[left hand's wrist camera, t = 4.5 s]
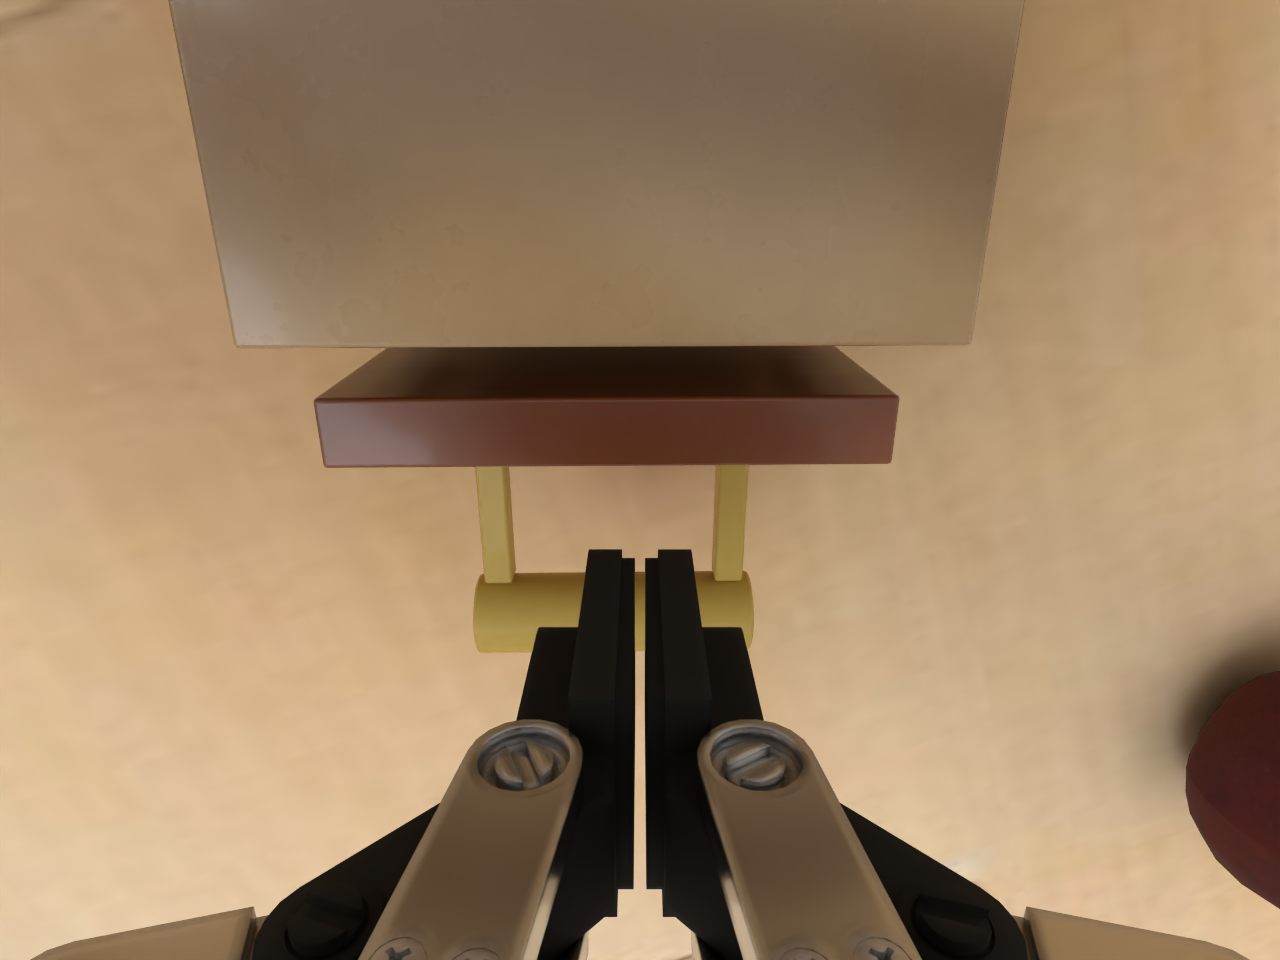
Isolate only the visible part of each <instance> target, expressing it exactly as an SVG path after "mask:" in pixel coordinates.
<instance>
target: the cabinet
mask: <svg viewBox="0 0 1280 960" xmlns="http://www.w3.org/2000/svg"><path fill="white" fill-rule="evenodd" d="M169 5H170V10H171V15H172V21H173V26H174V31H175V36H176V41H177V47H178V52H179V57H180V62H181V67H182V73H183V78H184V83H185V88H186V93H187V99H188V104H189V109H190V114H191V120H192V125H193V130H194V135H195V140H196V146H197V151H198V156H199V161H200V166H201V172H202V177H203V182H204V187H205V193H206V198H207V203H208V208H209V213H210V219H211V224H212V229H213V234H214V239H215V245H216V250H217V255H218V260H219V265H220V271H221V276H222V281H223V286H224V292H225V297H226V302H227V307H228V312H229V318H230V323H231V328H232V333H233V338H234V344H235V346H236V347H238V348H425V347H664V346H902V345H968V344H970V343H971V339H972V333H973V326H974V320H975V314H976V307H977V301H978V294H979V288H980V282H981V275H982V269H983V262H984V256H985V250H986V243H987V237H988V230H989V224H990V218H991V211H992V205H993V199H994V192H995V186H996V179H997V173H998V167H999V160H1000V154H1001V147H1002V141H1003V135H1004V128H1005V122H1006V115H1007V109H1008V103H1009V96H1010V90H1011V83H1012V77H1013V71H1014V64H1015V58H1016V51H1017V45H1018V39H1019V32H1020V26H1021V19H1022V13H1023V7H1024V0H169Z"/></svg>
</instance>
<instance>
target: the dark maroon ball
mask: <svg viewBox="0 0 1280 960" xmlns="http://www.w3.org/2000/svg"><path fill="white" fill-rule="evenodd" d="M1186 796H1187V801H1188V806H1189V811H1190V814H1191V816H1192V818H1193V820H1194V822H1195V824H1196V825H1197V827H1198V829H1199V831H1200V833H1201V835H1202V837H1203V838H1204V840H1205V842H1206V843H1207V845H1208V847H1209V848H1210V850H1211V852H1212V853H1213V855H1214V857H1215V859H1216V860H1217V861H1218V862H1219V863H1220V864H1221V865H1222V866H1223V867H1224V868H1225V869H1227V870H1228V871H1229V872H1230V873H1231V874H1232V875H1233V876H1234V877H1235V878H1236V879H1237V880H1238V881H1239V882H1240V883H1241V884H1242V885H1244V886H1245V887H1247V888H1249V889H1250V890H1252V891H1253V892H1255V893H1256V894H1258V895H1259V896H1261V897H1262V898H1264V899H1265V900H1267V901H1268V902H1270V903H1271V904H1273V905H1275V906H1276V907H1278V908H1279V909H1280V671H1277V672H1273V673H1269V674H1265V675H1261V676H1258V677H1256V678H1255V679H1253V680H1252V681H1250V682H1249V683H1247V684H1245V685H1244V686H1242V687H1241V688H1239V689H1238V690H1236V691H1235V692H1233V693H1231V694H1230V695H1228V696H1227V697H1226V699H1225V700H1224V701H1223V703H1222V704H1221V705H1220V706H1219V708H1218V709H1217V710H1216V711H1215V713H1214V714H1213V715H1212V716H1211V718H1210V719H1209V720H1208V722H1207V723H1206V724H1205V725H1204V727H1203V728H1202V729H1201V731H1200V734H1199V736H1198V738H1197V740H1196V742H1195V744H1194V746H1193V748H1192V750H1191V752H1190V754H1189V758H1188V762H1187V766H1186Z"/></svg>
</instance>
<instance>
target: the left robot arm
mask: <svg viewBox="0 0 1280 960" xmlns="http://www.w3.org/2000/svg"><path fill="white" fill-rule="evenodd" d="M634 779H635V558H622V550H589V552H588V559H587V566H586V573H585V580H584V587H583V594H582V601H581V608H580V615H579V622H578V627H539V628H538V630H537V633H536V638H535V642H534V646H533V651H532V655H531V659H530V664H529V668H528V672H527V677H526V681H525V685H524V690H523V694H522V698H521V703H520V707H519V711H518V716H517V720H516V721H513V722H508V723H504V724H502V725H500V726H497V727H495V728H493V729H490V730H489V731H487V732H486V733H485V734H483V735H482V736H481V737H479V738H478V739H476V741H475V742H474V743H473V745H472V746H471V747H470V749H469V750H468V751H467V753H466V755H465V757H464V759H463V761H462V763H461V764H460V766H459V768H458V770H457V772H456V774H455V776H454V778H453V780H452V782H451V784H450V785H449V787H448V789H447V791H446V793H445V795H444V797H443V799H442V801H441V803H439V804H437V805H436V806H434V807H432V808H431V809H429V810H427V811H426V812H424V813H422V814H421V815H419V816H418V817H416V818H414V819H413V820H411V821H409V822H408V823H406V824H404V825H403V826H401V827H399V828H398V829H396V830H394V831H393V832H391V833H389V834H388V835H386V836H384V837H383V838H381V839H379V840H378V841H376V842H374V843H373V844H371V845H369V846H368V847H366V848H364V849H363V850H361V851H359V852H358V853H356V854H354V855H353V856H351V857H349V858H348V859H346V860H344V861H343V862H341V863H340V864H338V865H336V866H335V867H333V868H331V869H330V870H328V871H326V872H325V873H323V874H321V875H320V876H318V877H316V878H315V879H313V880H311V881H310V882H308V883H306V884H305V885H303V886H301V887H300V888H298V889H297V890H296V891H294V892H293V893H292V894H290V895H289V896H288V897H286V898H285V899H284V900H282V901H281V902H280V903H279V904H278V905H277V906H276V908H275V909H274V910H273V911H272V912H271V913H270V914H269V915H267V916H262V917H257V918H256V914H255V910H254V907H249V908H244V909H239V910H233V911H228V912H223V913H218V914H213V915H208V916H203V917H197V918H192V919H187V920H182V921H177V922H172V923H167V924H161V925H156V926H151V927H146V928H141V929H136V930H131V931H125V932H120V933H115V934H110V935H105V936H100V937H95V938H90V939H84V940H79V941H74V942H71V943H68V944H65V945H62V946H59V947H56V948H53V949H50V950H47V951H45V952H43V953H41V954H40V955H38V956H36V957H34V958H33V959H31V960H587V957H588V946H589V930H590V929H591V928H592V927H593V926H594V925H596V924H597V923H598V922H599V921H600V920H602V919H603V918H604V917H617V902H618V889H633V886H634ZM645 779H646V885H647V889H662V902H663V917H676V918H677V919H678V920H680V921H681V922H682V923H683V924H684V925H686V926H687V927H688V928H689V929H690V930H691V946H692V957H693V960H1249V959H1247V958H1246V957H1244V956H1242V955H1240V954H1239V953H1237V952H1235V951H1233V950H1230V949H1227V948H1224V947H1221V946H1218V945H1215V944H1212V943H1209V942H1206V941H1201V940H1196V939H1190V938H1185V937H1180V936H1175V935H1170V934H1165V933H1160V932H1155V931H1149V930H1144V929H1139V928H1134V927H1129V926H1124V925H1119V924H1113V923H1108V922H1103V921H1098V920H1093V919H1088V918H1083V917H1077V916H1072V915H1067V914H1062V913H1057V912H1052V911H1047V910H1041V909H1036V908H1031V907H1026V910H1025V914H1024V918H1023V917H1018V916H1013V915H1011V914H1010V913H1009V912H1008V911H1007V910H1006V909H1005V908H1004V906H1003V905H1002V904H1001V903H1000V902H999V901H998V900H996V899H995V898H994V897H992V896H991V895H990V894H988V893H987V892H986V891H984V890H983V889H982V888H980V887H979V886H977V885H975V884H974V883H972V882H970V881H969V880H967V879H965V878H964V877H962V876H960V875H959V874H957V873H955V872H954V871H952V870H950V869H949V868H947V867H945V866H944V865H942V864H940V863H939V862H937V861H936V860H934V859H932V858H931V857H929V856H927V855H926V854H924V853H922V852H921V851H919V850H917V849H916V848H914V847H912V846H911V845H909V844H907V843H906V842H904V841H902V840H901V839H899V838H897V837H896V836H894V835H892V834H891V833H889V832H887V831H886V830H884V829H882V828H881V827H879V826H877V825H876V824H874V823H872V822H871V821H869V820H867V819H866V818H864V817H862V816H861V815H859V814H858V813H856V812H854V811H853V810H851V809H849V808H848V807H846V806H844V805H843V804H841V803H839V801H838V799H837V797H836V795H835V793H834V791H833V789H832V787H831V785H830V784H829V782H828V780H827V778H826V776H825V774H824V772H823V770H822V768H821V766H820V764H819V763H818V761H817V759H816V757H815V755H814V753H813V751H812V750H811V749H810V747H809V746H808V745H807V743H806V742H805V741H804V739H802V738H801V737H799V736H798V735H797V734H795V733H794V732H793V731H791V730H790V729H787V728H785V727H783V726H780V725H778V724H776V723H772V722H767V721H764V720H763V716H762V711H761V707H760V703H759V698H758V694H757V690H756V685H755V681H754V677H753V672H752V668H751V664H750V659H749V655H748V651H747V646H746V642H745V638H744V633H743V630H742V628H741V627H702V622H701V615H700V608H699V601H698V594H697V587H696V580H695V573H694V566H693V559H692V552H691V550H658V558H645Z"/></svg>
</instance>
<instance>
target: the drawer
mask: <svg viewBox="0 0 1280 960" xmlns="http://www.w3.org/2000/svg"><path fill="white" fill-rule="evenodd" d="M898 405H899V397H898V395H896V394H895V393H894V392H892V391H891V390H890V389H889V388H887V387H886V386H885V385H883V384H882V383H881V382H880V381H878V380H877V379H876V378H875V377H873V376H872V375H871V374H869V373H868V372H867V371H866V370H864V369H863V368H862V367H860V366H859V365H858V364H857V363H855V362H854V361H853V360H851V359H850V358H849V357H848V356H846V355H845V354H844V353H843V352H841V351H840V350H839V349H837V348H836V347H835V346H664V347H425V348H386V349H385V350H384V351H382V352H381V353H379V354H378V355H377V356H375V357H374V358H372V359H371V360H369V361H368V362H367V363H365V364H364V365H362V366H361V367H360V368H358V369H357V370H355V371H354V372H353V373H351V374H350V375H348V376H347V377H345V378H344V379H343V380H341V381H340V382H338V383H337V384H336V385H334V386H333V387H331V388H330V389H328V390H327V391H326V392H324V393H323V394H321V395H320V396H319V397H317V398H316V399H315V400H314V407H315V413H316V419H317V426H318V432H319V438H320V445H321V451H322V457H323V463H324V466H325V467H327V468H357V467H475V469H476V481H477V493H478V505H479V517H480V530H481V542H482V554H483V566H484V574H481V575H480V577H479V579H478V582H477V585H476V590H475V597H474V609H473V626H474V637H475V643H476V646H477V649H478V651H479V652H481V653H503V652H532V651H533V646H534V642H535V638H536V633H537V630H538V628H539V627H578V622H579V615H580V608H581V601H582V594H583V587H584V580H585V573H586V572H583V573H515V571H516V567H515V552H514V537H513V521H512V506H511V491H510V476H509V466H638V465H716V475H715V501H714V528H713V554H712V570H713V571H694V573H695V580H696V587H697V594H698V601H699V608H700V615H701V622H702V627H741V628H742V630H743V633H744V638H745V642H746V646H747V649H749V648H750V646H751V643H752V637H753V625H754V611H753V595H752V588H751V582H750V578H749V576H748V574H747V572H745V571H743V553H744V534H745V516H746V498H747V479H748V465H779V464H888V463H890V462H891V460H892V453H893V445H894V437H895V429H896V421H897V413H898ZM635 651H645V572H635Z"/></svg>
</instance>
